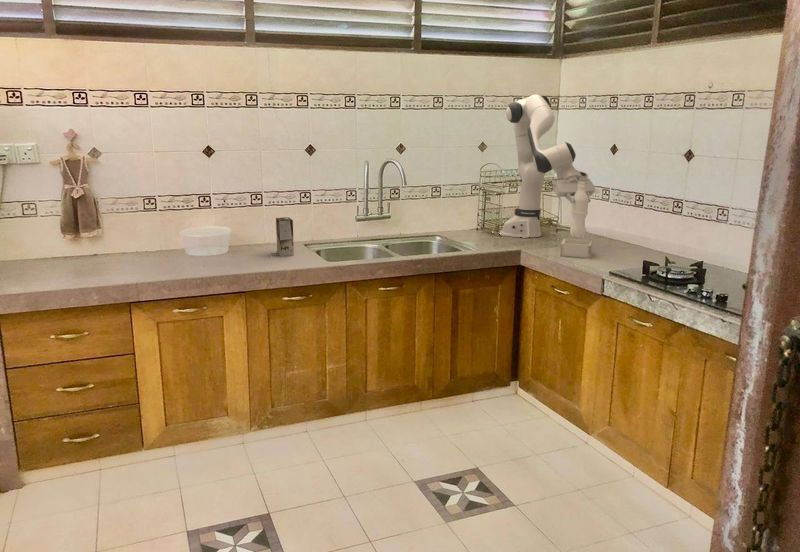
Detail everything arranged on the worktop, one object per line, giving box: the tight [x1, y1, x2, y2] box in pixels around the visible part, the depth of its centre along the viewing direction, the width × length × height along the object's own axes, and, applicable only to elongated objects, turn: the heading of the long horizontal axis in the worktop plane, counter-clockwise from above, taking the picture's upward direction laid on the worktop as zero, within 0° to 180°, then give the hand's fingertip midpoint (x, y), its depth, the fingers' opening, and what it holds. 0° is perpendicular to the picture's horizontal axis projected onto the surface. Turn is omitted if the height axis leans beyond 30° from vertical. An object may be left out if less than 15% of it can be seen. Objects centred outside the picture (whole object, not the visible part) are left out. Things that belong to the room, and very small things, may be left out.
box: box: [559, 237, 593, 260], centre depth 295 cm, size 13×13×6 cm
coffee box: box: [275, 216, 295, 257], centre depth 289 cm, size 9×6×16 cm
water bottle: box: [569, 181, 589, 239], centre depth 291 cm, size 7×7×25 cm
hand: (581, 202), depth 290 cm, fingers closed on water bottle, 7 cm apart
